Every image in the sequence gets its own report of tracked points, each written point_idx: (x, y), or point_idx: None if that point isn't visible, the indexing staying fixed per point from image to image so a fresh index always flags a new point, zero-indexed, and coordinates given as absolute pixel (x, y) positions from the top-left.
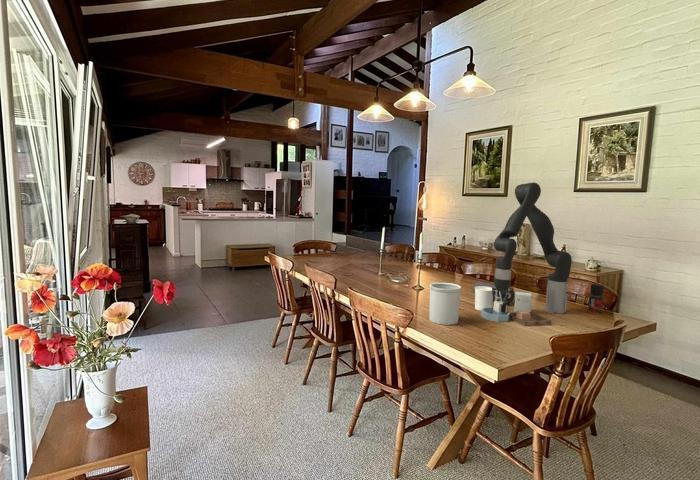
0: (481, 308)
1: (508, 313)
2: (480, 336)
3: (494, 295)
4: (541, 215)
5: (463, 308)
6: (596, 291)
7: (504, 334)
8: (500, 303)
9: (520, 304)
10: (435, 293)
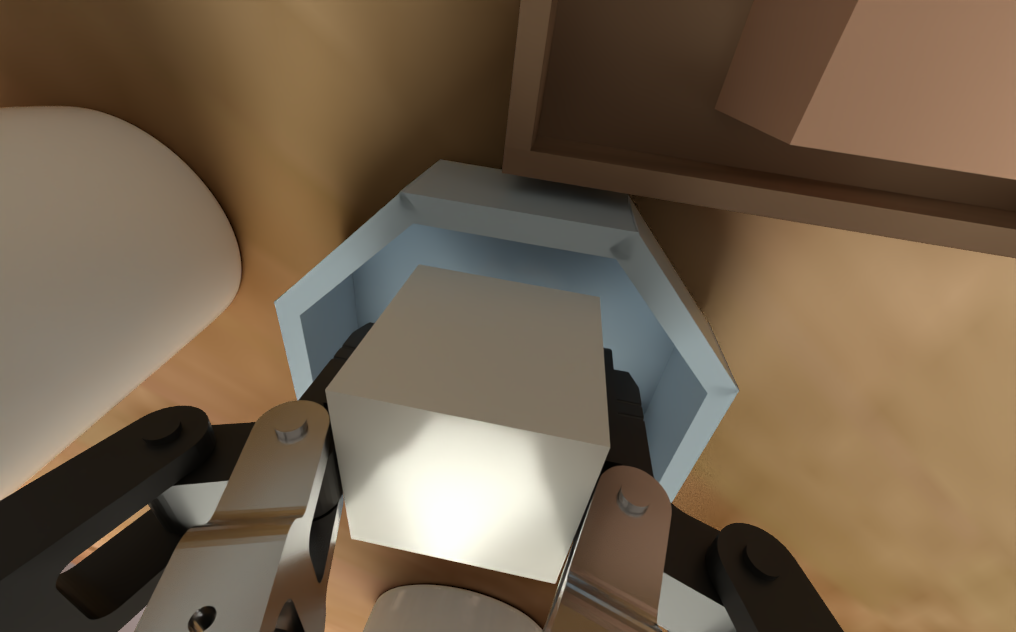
0: (202, 330)
1: (673, 320)
2: None
3: (126, 604)
4: None
5: (145, 390)
6: None
7: (916, 565)
8: (543, 558)
9: None
10: None
